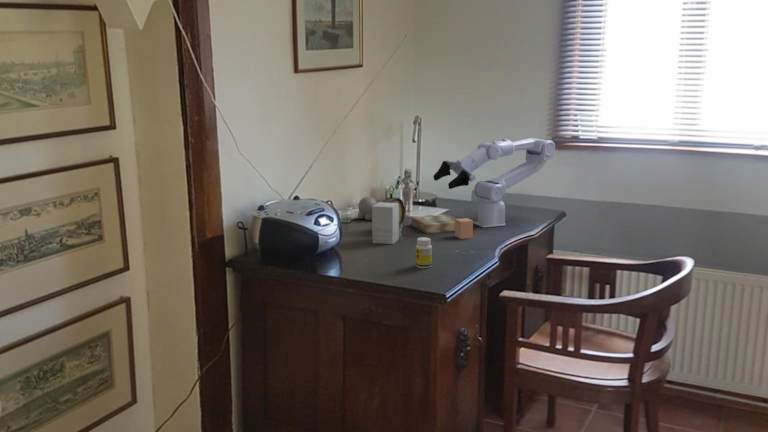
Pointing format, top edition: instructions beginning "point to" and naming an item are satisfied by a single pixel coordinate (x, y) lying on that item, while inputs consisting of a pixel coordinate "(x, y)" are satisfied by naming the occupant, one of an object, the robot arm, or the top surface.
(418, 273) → the top surface
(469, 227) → the block
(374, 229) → the supplement box
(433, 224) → the plinth
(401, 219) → the alarm clock
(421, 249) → the supplement bottle
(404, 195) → the human figurine
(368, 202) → the chubby cartoon animal
